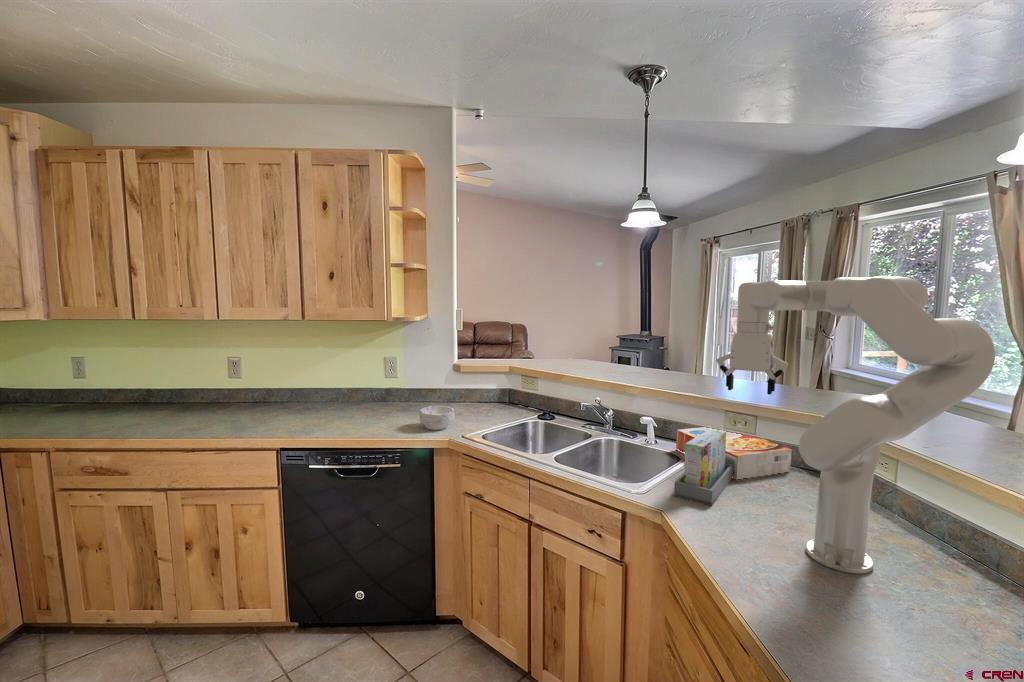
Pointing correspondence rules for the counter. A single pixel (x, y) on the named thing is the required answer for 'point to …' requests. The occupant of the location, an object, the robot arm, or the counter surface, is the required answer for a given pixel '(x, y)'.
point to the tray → (702, 493)
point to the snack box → (705, 458)
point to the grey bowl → (436, 417)
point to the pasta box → (746, 453)
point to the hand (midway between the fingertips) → (749, 391)
